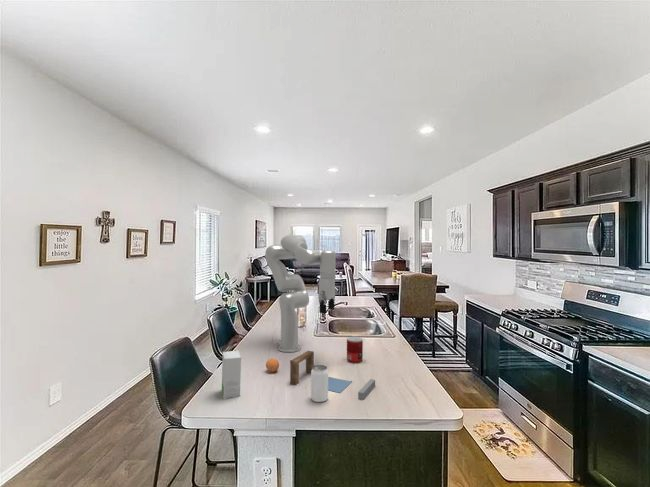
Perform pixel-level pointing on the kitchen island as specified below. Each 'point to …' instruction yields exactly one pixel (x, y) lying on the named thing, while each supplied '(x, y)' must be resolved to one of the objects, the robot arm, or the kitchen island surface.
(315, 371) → the can
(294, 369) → the bridge
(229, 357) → the skincare box
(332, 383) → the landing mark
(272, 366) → the ball
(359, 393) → the stopper
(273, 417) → the kitchen island surface
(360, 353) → the canned food
